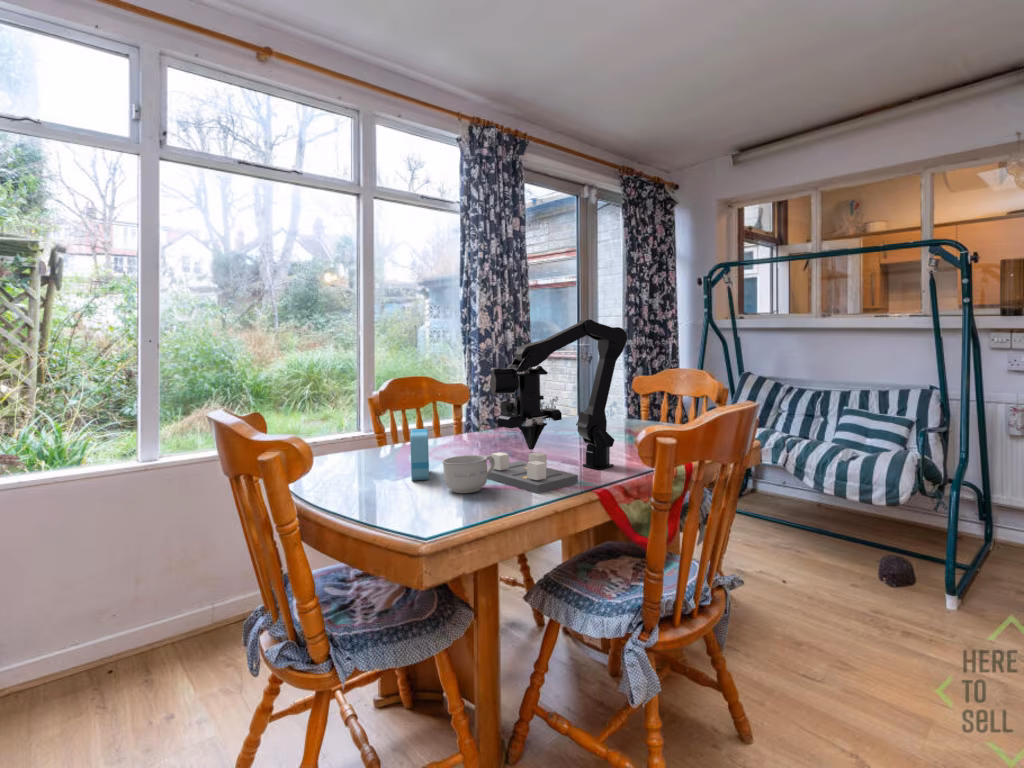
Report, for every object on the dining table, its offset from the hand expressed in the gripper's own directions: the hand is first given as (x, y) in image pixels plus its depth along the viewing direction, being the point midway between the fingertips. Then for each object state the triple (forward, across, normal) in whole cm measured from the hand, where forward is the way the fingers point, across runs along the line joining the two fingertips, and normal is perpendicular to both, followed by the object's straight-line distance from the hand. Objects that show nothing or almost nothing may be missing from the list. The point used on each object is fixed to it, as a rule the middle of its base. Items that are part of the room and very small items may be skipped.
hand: (531, 449), depth 157 cm
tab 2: (+4, +9, +12) cm, 16 cm away
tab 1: (+4, +9, -2) cm, 10 cm away
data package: (+6, +24, -18) cm, 31 cm away
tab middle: (+4, +2, +5) cm, 7 cm away
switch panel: (+6, +6, +5) cm, 10 cm away
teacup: (+6, +22, +2) cm, 23 cm away
